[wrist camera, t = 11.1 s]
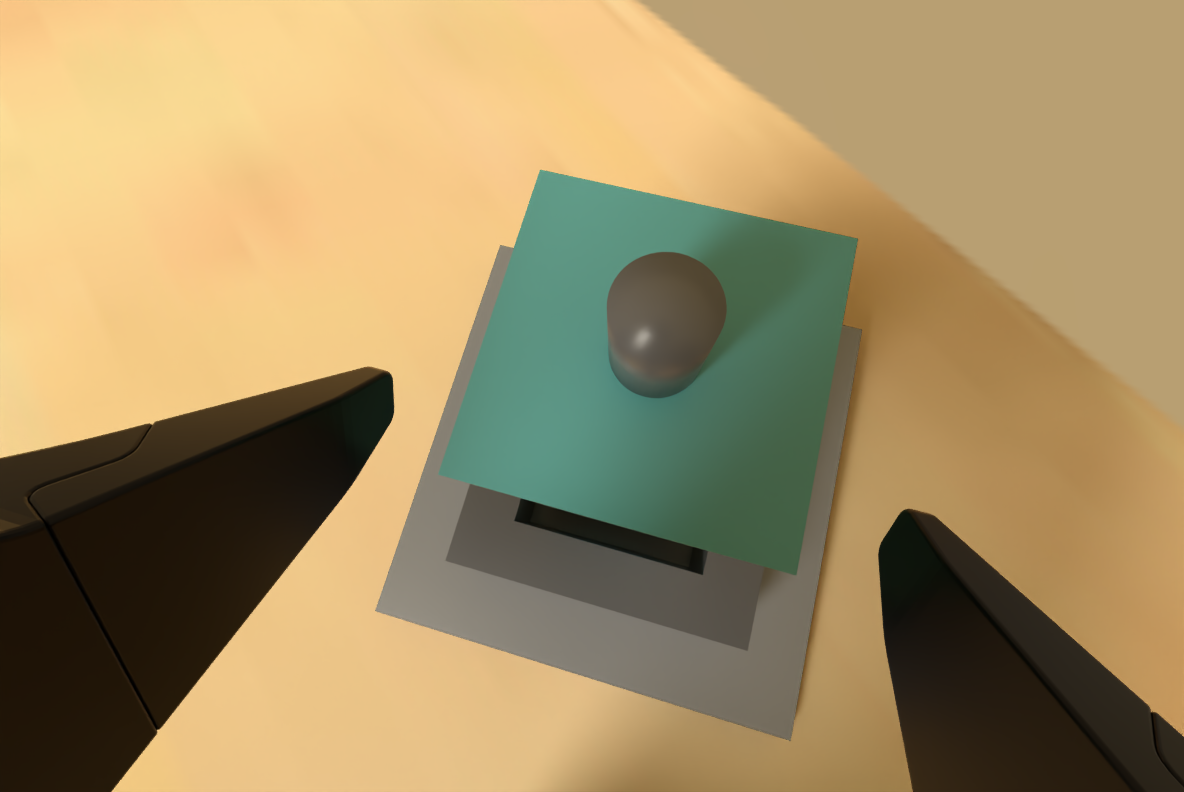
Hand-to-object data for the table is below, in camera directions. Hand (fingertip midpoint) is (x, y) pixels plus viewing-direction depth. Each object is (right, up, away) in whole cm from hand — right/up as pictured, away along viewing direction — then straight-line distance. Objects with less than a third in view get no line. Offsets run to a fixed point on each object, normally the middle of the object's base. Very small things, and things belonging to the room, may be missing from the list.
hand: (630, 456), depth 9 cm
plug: (+1, -1, +10) cm, 10 cm away
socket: (+1, -2, +11) cm, 11 cm away
